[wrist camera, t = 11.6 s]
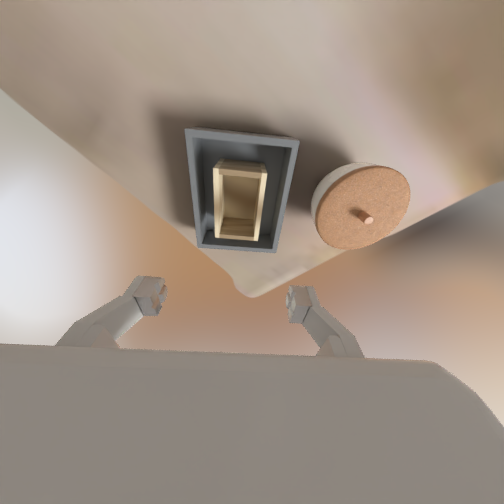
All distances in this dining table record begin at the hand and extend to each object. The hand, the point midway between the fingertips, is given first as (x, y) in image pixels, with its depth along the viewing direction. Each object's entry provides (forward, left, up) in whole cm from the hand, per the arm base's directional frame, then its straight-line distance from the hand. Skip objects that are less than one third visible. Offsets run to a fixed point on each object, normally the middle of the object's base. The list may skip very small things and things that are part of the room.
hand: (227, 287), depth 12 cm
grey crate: (0, 0, -20) cm, 20 cm away
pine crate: (0, 0, -19) cm, 19 cm away
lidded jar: (-1, +15, -20) cm, 25 cm away
